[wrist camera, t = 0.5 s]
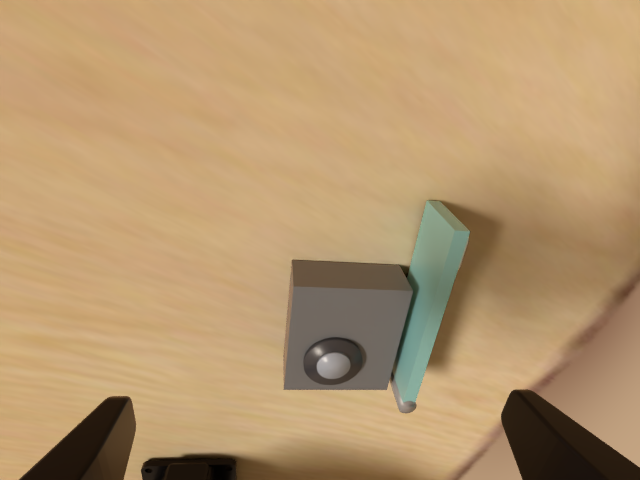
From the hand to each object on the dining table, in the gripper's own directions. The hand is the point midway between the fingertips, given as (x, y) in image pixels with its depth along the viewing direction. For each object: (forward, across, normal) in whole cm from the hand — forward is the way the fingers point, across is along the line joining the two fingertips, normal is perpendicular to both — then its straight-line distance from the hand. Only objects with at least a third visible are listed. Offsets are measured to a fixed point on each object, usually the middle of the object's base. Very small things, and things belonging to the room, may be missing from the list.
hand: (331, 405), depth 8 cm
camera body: (+12, -3, +7) cm, 14 cm away
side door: (+12, -7, +5) cm, 14 cm away
